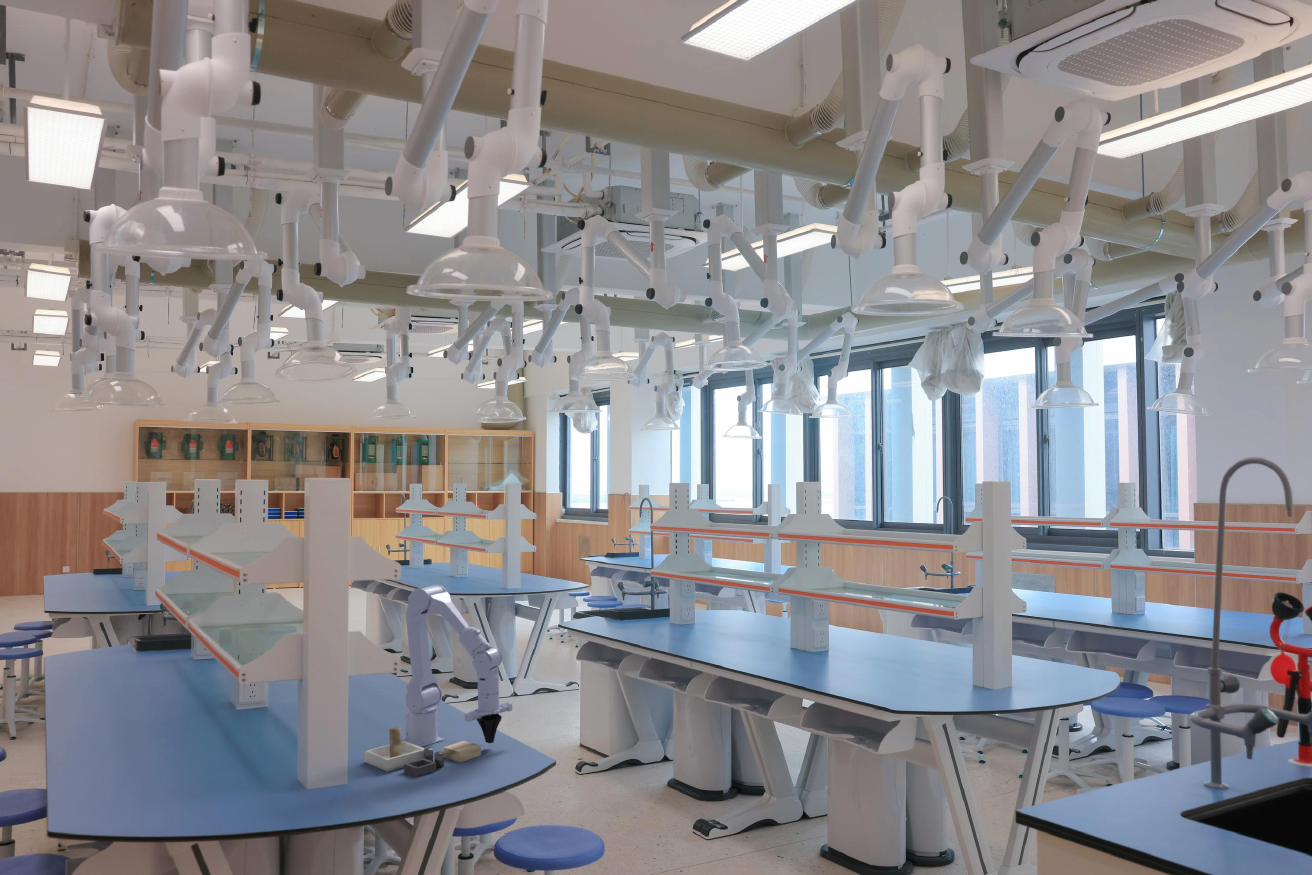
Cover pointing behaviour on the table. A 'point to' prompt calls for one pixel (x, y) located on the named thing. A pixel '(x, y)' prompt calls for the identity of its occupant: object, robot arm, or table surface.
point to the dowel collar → (420, 767)
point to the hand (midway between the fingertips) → (489, 742)
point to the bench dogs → (437, 757)
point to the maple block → (462, 751)
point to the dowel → (395, 741)
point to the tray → (383, 761)
